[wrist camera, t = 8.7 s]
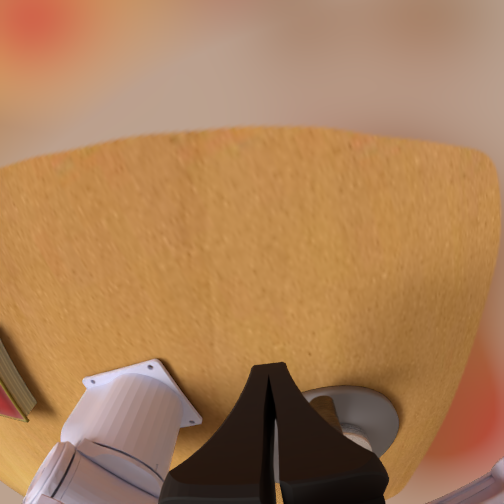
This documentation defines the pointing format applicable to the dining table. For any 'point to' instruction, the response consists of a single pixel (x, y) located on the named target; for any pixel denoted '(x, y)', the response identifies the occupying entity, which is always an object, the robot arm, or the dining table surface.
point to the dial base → (357, 416)
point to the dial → (329, 413)
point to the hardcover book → (13, 390)
